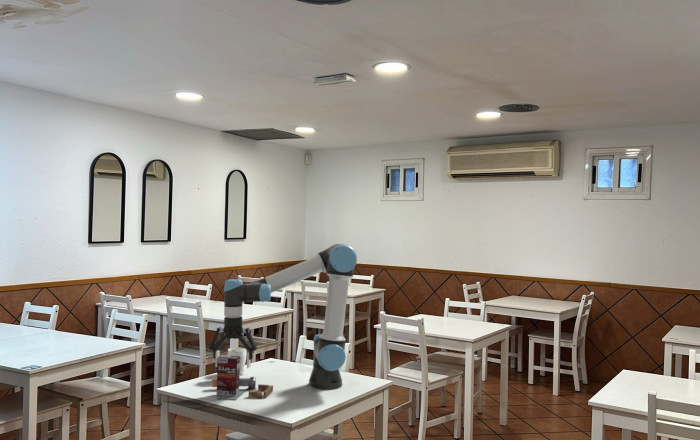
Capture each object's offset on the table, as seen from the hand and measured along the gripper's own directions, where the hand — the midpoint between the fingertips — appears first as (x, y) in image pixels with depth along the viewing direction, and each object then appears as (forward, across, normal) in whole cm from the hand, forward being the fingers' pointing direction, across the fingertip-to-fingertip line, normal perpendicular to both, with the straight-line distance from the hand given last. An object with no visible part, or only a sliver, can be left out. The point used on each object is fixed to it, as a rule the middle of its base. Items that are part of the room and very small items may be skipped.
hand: (233, 367), depth 238 cm
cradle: (+12, -8, -6) cm, 16 cm away
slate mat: (+12, +1, 0) cm, 12 cm away
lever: (+12, +3, -9) cm, 15 cm away
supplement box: (+12, +2, 0) cm, 12 cm away
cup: (+12, +10, -36) cm, 39 cm away
